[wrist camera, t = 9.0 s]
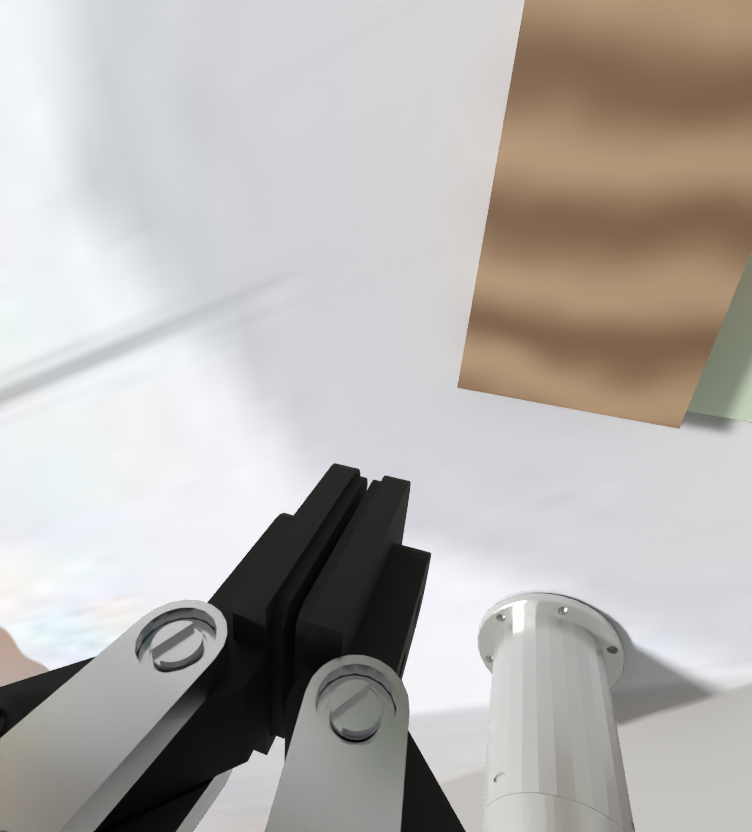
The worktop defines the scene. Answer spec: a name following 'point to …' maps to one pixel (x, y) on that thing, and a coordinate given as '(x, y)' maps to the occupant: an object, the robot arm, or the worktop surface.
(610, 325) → the board
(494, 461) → the worktop surface
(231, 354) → the worktop surface
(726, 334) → the sage mat
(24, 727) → the robot arm
